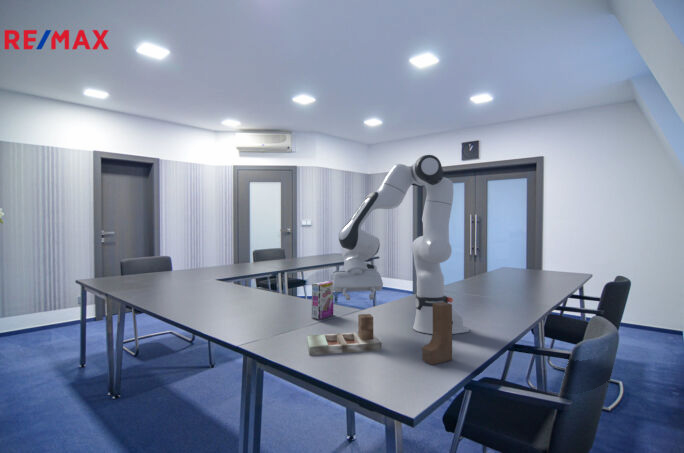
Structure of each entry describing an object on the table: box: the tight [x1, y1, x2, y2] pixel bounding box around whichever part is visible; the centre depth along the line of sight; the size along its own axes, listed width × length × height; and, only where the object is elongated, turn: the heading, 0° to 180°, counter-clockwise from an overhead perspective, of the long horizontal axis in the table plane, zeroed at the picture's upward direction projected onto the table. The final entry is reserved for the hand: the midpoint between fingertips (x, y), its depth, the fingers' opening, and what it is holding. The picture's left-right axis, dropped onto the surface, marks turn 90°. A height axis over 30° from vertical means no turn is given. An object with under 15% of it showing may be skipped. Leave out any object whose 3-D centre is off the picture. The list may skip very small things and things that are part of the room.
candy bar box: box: [311, 280, 335, 321], centre depth 164 cm, size 11×5×16 cm, turn 144°
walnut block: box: [357, 313, 374, 340], centre depth 125 cm, size 4×4×8 cm
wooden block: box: [421, 302, 453, 366], centre depth 110 cm, size 9×4×18 cm, turn 118°
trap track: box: [306, 332, 382, 356], centre depth 123 cm, size 25×13×2 cm, turn 100°
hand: (360, 299), depth 133 cm, fingers open, 8 cm apart
